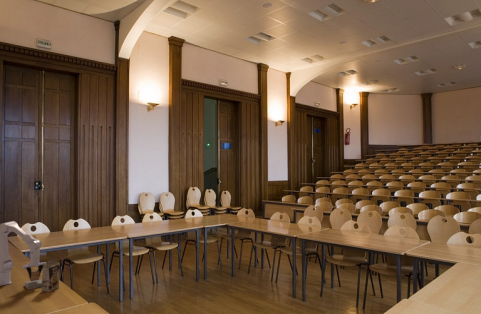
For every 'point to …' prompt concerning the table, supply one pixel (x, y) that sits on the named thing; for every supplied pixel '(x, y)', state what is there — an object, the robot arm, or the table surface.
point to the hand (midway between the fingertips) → (34, 277)
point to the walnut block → (34, 275)
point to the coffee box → (50, 277)
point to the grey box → (33, 284)
